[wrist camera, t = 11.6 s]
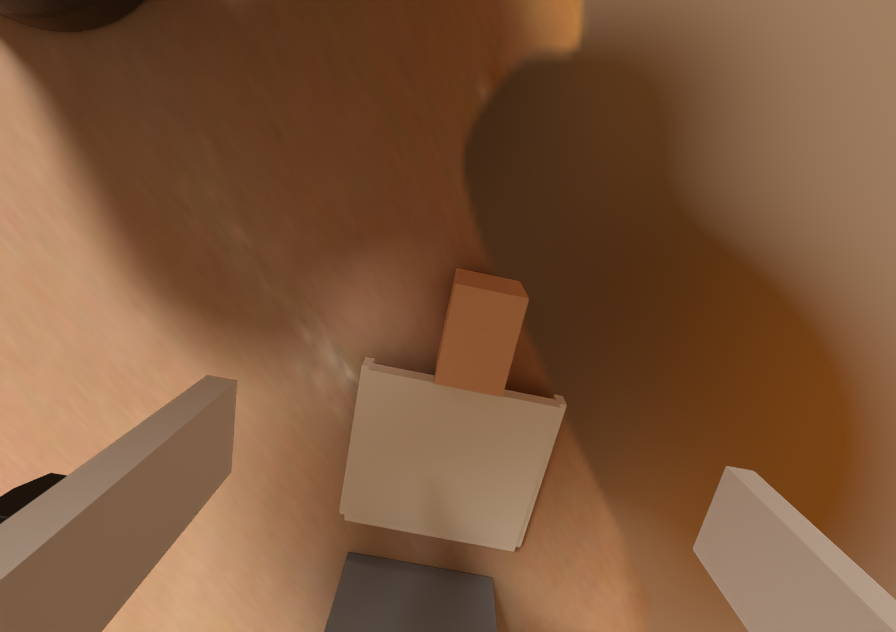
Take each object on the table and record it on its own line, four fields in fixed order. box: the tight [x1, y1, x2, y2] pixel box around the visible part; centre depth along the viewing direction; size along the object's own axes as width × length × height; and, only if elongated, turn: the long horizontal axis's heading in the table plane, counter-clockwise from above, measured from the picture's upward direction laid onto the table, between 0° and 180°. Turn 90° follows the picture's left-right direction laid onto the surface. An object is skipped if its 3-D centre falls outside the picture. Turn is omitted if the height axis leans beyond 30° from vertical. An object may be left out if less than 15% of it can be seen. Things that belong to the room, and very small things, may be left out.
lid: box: [339, 268, 567, 552], centre depth 28 cm, size 18×13×4 cm
